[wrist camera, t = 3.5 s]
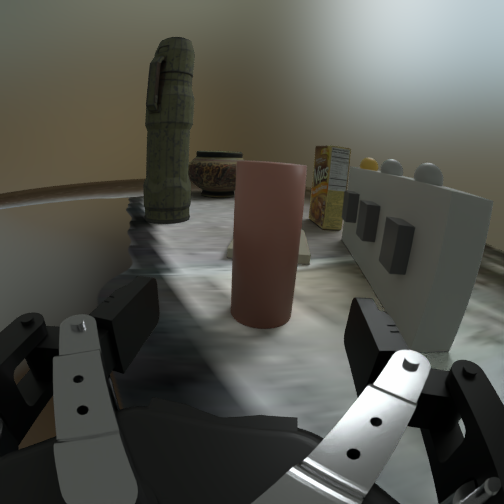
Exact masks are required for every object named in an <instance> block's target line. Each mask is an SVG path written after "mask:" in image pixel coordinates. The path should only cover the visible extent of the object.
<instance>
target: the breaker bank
mask: <svg viewBox="0 0 504 504" xmlns="http://www.w3.org/2000/svg"><path fill="white" fill-rule="evenodd" d="M402 175H403V168H402V166H401V164H400V163H399V162H398V161H396V160H393V159H389V160H386V161H384V162H383V164H382V165H381V171H378V164H377V162H376V161H375V160H374V159H372V158H365V159H363V160H362V162H361V164H360V168H358V167H350V172H349V182H348V191H346V190H345V191H344V200H343V209H342V219H343V220H344V225H343V232H342V241H343V242H344V244H345V245H346V247H347V248H348V250H349V252H350V253H351V255H352V256H353V258H354V259H355V261H356V263H357V264H358V266H359V267H360V269H361V271H362V272H363V274H364V275H365V277H366V279H367V280H368V282H369V284H370V285H371V287H372V289H373V290H374V292H375V294H376V295H377V297H378V299H379V300H380V302H381V304H382V306H383V307H384V309H385V311H386V313H387V314H388V315H389V316H390V317H391V318H392V319H393V321H394V323H395V324H396V327H397V328H398V330H399V333H401V335H402V337H403V339H404V340H405V342H406V344H407V346H408V348H409V350H412V351H416V352H418V353H428V352H445V351H449V350H450V348H451V346H452V343H453V341H454V339H455V336H456V334H457V331H458V329H459V326H460V324H461V321H462V319H463V316H464V313H465V310H466V308H467V305H468V302H469V299H470V296H471V293H472V290H473V287H474V284H475V280H476V277H477V273H478V270H479V266H480V263H481V259H482V255H483V251H484V247H485V242H486V238H487V233H488V228H489V223H490V218H491V212H492V206H493V201H491V200H488V199H485V198H482V197H479V196H476V195H473V194H469V193H466V192H462V191H459V190H456V189H452V188H448V187H445V186H442V185H443V175H442V172H441V171H440V169H439V168H438V167H437V166H436V165H434V164H432V163H424V164H421V165H420V166H419V167H418V168H417V169H416V171H415V174H414V179H413V178H409V177H405V176H402Z"/></svg>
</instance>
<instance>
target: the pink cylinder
mask: <svg viewBox="0 0 504 504" xmlns="http://www.w3.org/2000/svg"><path fill="white" fill-rule="evenodd" d="M306 172H307V166H306V165H298V164H289V163H278V162H264V161H237V165H236V186H235V208H234V232H233V259H232V290H231V314H232V316H233V318H234V319H235V320H236V321H238V322H239V323H241V324H243V325H246V326H249V327H253V328H261V329H268V328H275V327H279V326H281V325H283V324H285V323H286V322H288V321H289V319H290V317H291V311H292V303H293V296H294V288H295V280H296V272H297V263H298V255H299V246H300V236H301V227H302V217H303V206H304V195H305V184H306Z"/></svg>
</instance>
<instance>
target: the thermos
mask: <svg viewBox="0 0 504 504" xmlns="http://www.w3.org/2000/svg"><path fill="white" fill-rule="evenodd" d="M194 58H195V54H194V50H193V46H192V42H191V41H190V40H188V39H185V38H182V37H171V38H167V39H165V40H162V41H161V42H160V44H159V46H158V48H157V51H156V53H155V57H154V59H153V60H152V62H151V63H150V69H149V78H148V89H147V100H146V122H145V126H146V128H147V131H148V133H147V167H146V170H147V171H146V179H145V182H144V207H145V221H147V222H150V223H157V224H171V223H179V222H184V221H187V220H189V218H190V215H189V207H190V204H191V183H190V180H189V177H188V162H189V136H190V129H191V127H192V125H193V109H194V96H193V92H192V77H193V67H194Z"/></svg>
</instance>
